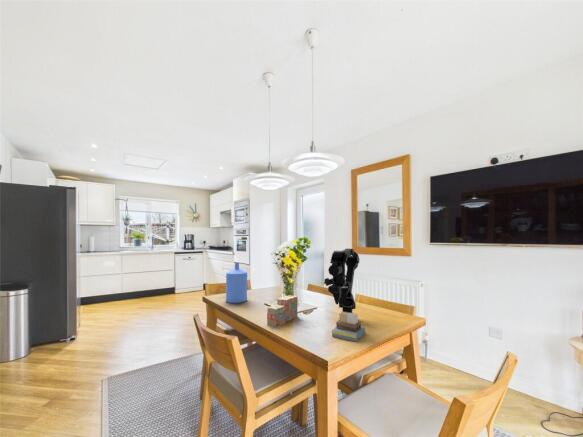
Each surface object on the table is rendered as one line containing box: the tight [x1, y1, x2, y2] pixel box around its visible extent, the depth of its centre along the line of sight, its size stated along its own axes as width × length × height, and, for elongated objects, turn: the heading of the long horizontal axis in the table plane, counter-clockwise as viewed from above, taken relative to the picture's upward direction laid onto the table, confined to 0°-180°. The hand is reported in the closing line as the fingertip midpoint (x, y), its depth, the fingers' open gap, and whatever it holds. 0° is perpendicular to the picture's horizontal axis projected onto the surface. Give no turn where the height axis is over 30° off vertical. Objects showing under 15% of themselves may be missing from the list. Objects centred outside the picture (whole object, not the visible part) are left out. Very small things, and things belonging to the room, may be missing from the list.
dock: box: [331, 325, 366, 342], centre depth 130 cm, size 13×12×3 cm
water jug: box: [225, 262, 248, 304], centre depth 199 cm, size 16×16×28 cm
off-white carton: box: [347, 312, 359, 324], centre depth 130 cm, size 4×4×4 cm
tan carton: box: [338, 311, 349, 323], centre depth 132 cm, size 4×4×4 cm
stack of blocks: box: [266, 295, 298, 327], centre depth 152 cm, size 21×6×12 cm, turn 146°
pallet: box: [335, 320, 362, 332], centre depth 131 cm, size 7×10×3 cm
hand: (340, 302), depth 145 cm, fingers open, 9 cm apart
